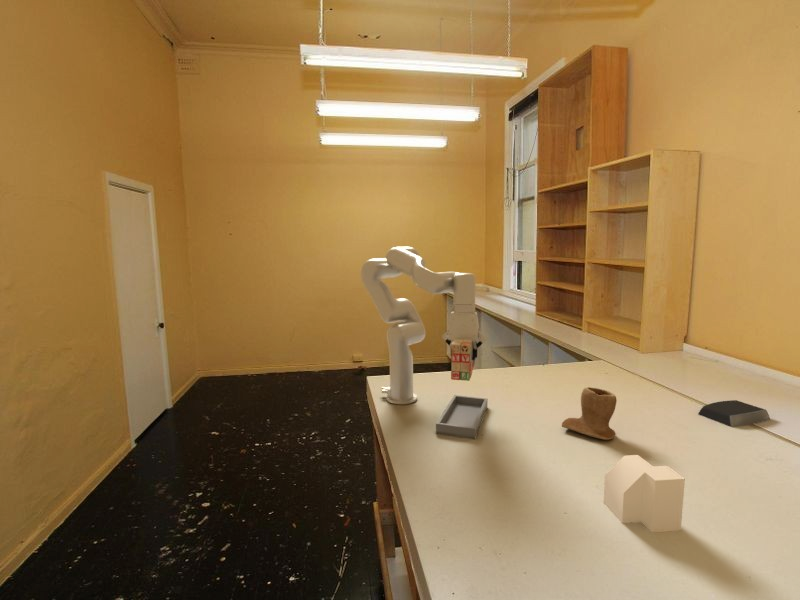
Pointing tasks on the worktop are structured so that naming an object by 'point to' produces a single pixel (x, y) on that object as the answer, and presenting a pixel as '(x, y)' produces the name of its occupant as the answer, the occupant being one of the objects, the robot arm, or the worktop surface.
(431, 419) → the worktop surface
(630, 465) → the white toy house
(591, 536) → the worktop surface
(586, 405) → the brown suede boot
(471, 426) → the tray
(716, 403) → the external hard drive
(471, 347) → the stack of blocks
